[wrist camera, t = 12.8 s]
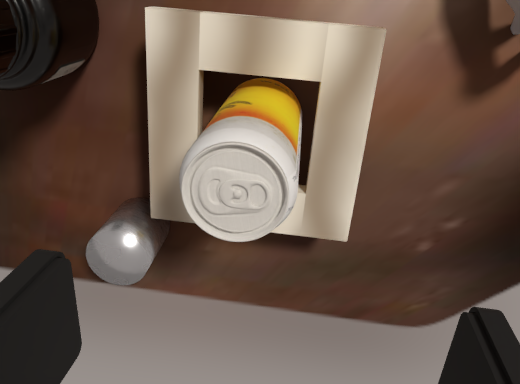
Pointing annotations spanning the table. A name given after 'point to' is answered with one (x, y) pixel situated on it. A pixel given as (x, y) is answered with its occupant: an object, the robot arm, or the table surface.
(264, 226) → the beer can
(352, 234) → the table surface
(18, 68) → the ink bottle
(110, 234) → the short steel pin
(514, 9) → the caliper
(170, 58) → the birch stand
